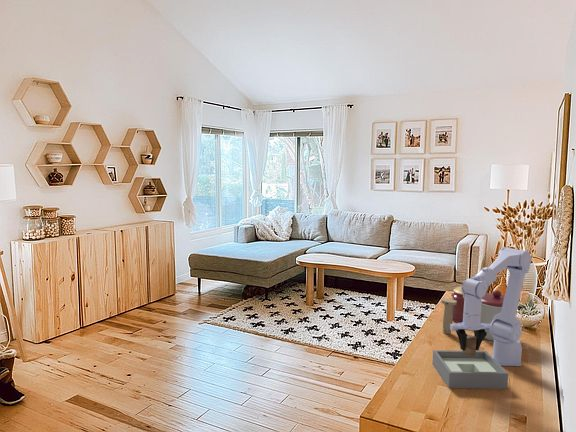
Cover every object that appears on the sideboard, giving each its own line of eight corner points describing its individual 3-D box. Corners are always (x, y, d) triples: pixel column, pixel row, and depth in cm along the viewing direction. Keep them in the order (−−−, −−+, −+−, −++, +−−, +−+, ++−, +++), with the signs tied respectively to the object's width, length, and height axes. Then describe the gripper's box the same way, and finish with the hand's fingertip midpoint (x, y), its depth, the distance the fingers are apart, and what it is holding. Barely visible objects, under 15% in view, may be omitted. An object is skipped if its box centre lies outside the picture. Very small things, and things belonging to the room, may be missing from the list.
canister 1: (443, 317, 228) (446, 281, 225) (464, 313, 233) (466, 279, 230) (463, 326, 216) (466, 289, 213) (484, 322, 221) (487, 286, 218)
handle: (452, 336, 203) (454, 303, 201) (437, 332, 207) (439, 300, 205) (455, 333, 207) (458, 300, 205) (441, 329, 211) (443, 297, 209)
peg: (472, 350, 169) (473, 334, 168) (477, 355, 165) (478, 339, 164) (460, 350, 169) (461, 334, 168) (465, 355, 164) (466, 339, 164)
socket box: (485, 364, 177) (486, 350, 176) (507, 388, 159) (508, 373, 158) (432, 364, 177) (433, 350, 176) (448, 387, 159) (449, 372, 158)
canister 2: (524, 346, 194) (528, 297, 191) (480, 345, 195) (484, 296, 192) (505, 329, 212) (508, 284, 209) (465, 328, 212) (468, 284, 210)
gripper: (486, 308, 169) (483, 344, 171) (447, 309, 168) (445, 345, 170) (496, 315, 162) (493, 352, 164) (455, 316, 161) (453, 353, 163)
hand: (469, 349), depth 166 cm, fingers closed on peg, 4 cm apart
